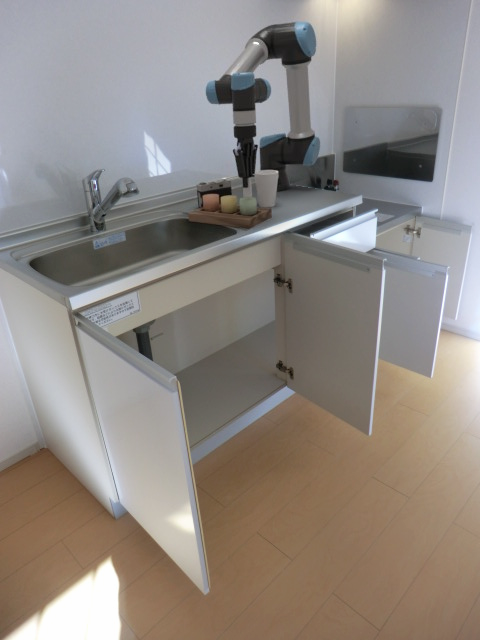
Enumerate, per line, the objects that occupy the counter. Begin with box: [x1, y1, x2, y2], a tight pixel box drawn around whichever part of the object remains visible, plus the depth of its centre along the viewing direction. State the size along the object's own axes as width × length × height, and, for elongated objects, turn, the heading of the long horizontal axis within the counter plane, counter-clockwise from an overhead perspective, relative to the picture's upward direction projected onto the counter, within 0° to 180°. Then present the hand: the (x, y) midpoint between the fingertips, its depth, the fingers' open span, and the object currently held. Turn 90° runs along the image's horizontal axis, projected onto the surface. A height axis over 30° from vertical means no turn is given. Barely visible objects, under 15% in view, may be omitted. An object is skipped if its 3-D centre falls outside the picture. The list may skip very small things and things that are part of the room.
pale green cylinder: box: [238, 196, 258, 215], centre depth 172 cm, size 6×6×5 cm
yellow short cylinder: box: [221, 194, 239, 213], centre depth 176 cm, size 6×6×5 cm
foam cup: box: [253, 170, 279, 208], centre depth 191 cm, size 10×9×13 cm
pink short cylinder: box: [203, 194, 220, 211], centre depth 179 cm, size 6×6×5 cm
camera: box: [196, 178, 233, 209], centre depth 197 cm, size 14×8×10 cm, turn 120°
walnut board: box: [188, 204, 273, 229], centre depth 177 cm, size 16×26×3 cm, turn 58°
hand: (247, 196), depth 170 cm, fingers closed
